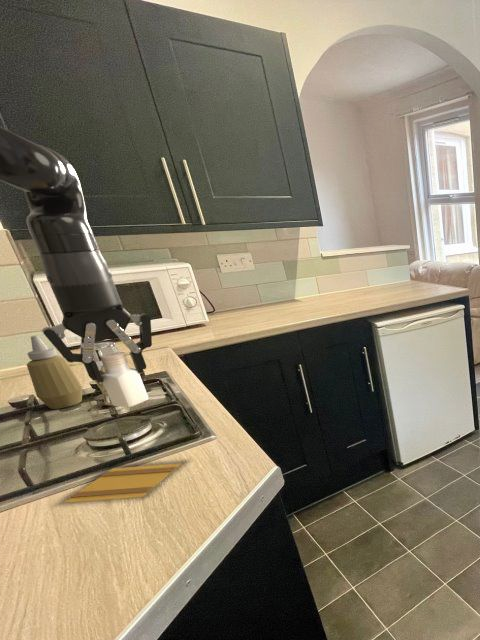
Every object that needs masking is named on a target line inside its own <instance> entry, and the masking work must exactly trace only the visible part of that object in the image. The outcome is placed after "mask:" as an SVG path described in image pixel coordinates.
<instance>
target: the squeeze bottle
mask: <svg viewBox="0 0 480 640" xmlns="http://www.w3.org/2000/svg"><path fill="white" fill-rule="evenodd" d="M30 341H31V347H32V350H31V351H28V352H27V356H28V358H29V360H30V361H29V362H27V363H26V367H27V370H28V373H29V376H30V379H31V382H32V386H33V389H34V392H35V395H36V397H37V398H38V399H39V400H40V401H41V402H42V403H43V404H45V405H46V407H48V408H49V409H51V410H58V409H64V408H69V407H72V406H75V405H78V404H80V403H82V401H83V385H82V384H81V383H80V381H79V379H78V377H77V376H76V374H75V372H74V371H73V369H72V367H71V366H70V364H69V362H68V361H67V360H66V359H65V358H64V357H63V356H62V355H61V356H60V355H58V353H57V349H56V348H55V347H49V348H48V346H47V344H45V343H44V341H43V340H42V339H41V338H40V337H39V335H31V336H30Z"/></svg>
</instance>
